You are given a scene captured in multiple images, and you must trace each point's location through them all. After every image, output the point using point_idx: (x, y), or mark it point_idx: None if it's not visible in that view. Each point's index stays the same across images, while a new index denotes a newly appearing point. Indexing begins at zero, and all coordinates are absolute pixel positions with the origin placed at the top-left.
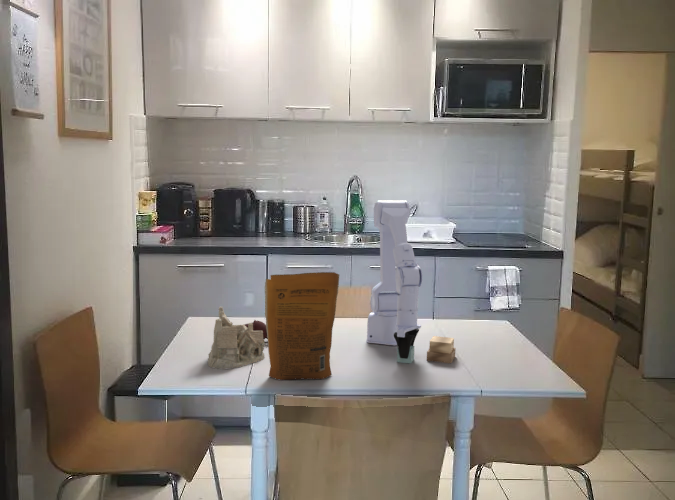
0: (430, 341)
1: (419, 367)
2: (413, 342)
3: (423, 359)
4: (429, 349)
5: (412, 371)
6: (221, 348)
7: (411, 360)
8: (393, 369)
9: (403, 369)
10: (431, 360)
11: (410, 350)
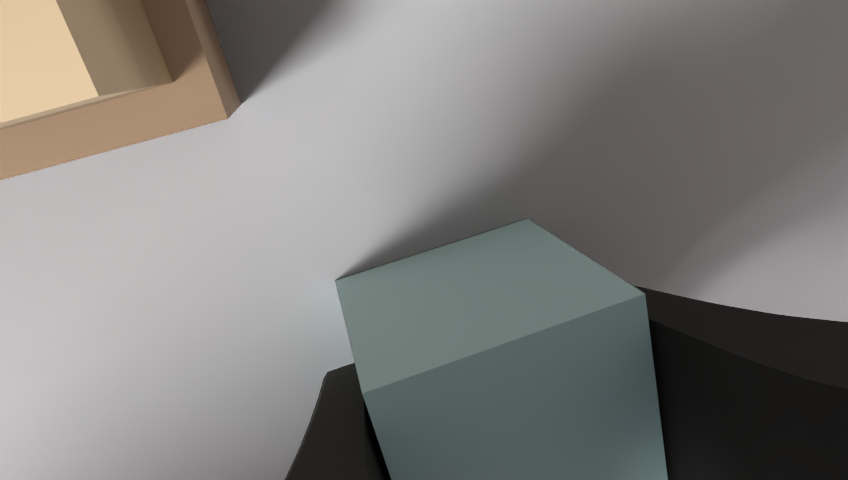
0: (92, 62)
1: (622, 33)
2: (367, 469)
3: (226, 172)
4: (165, 79)
5: (809, 34)
6: None
7: (509, 238)
8: (822, 257)
9: (781, 168)
10: (209, 17)
11: (637, 301)
